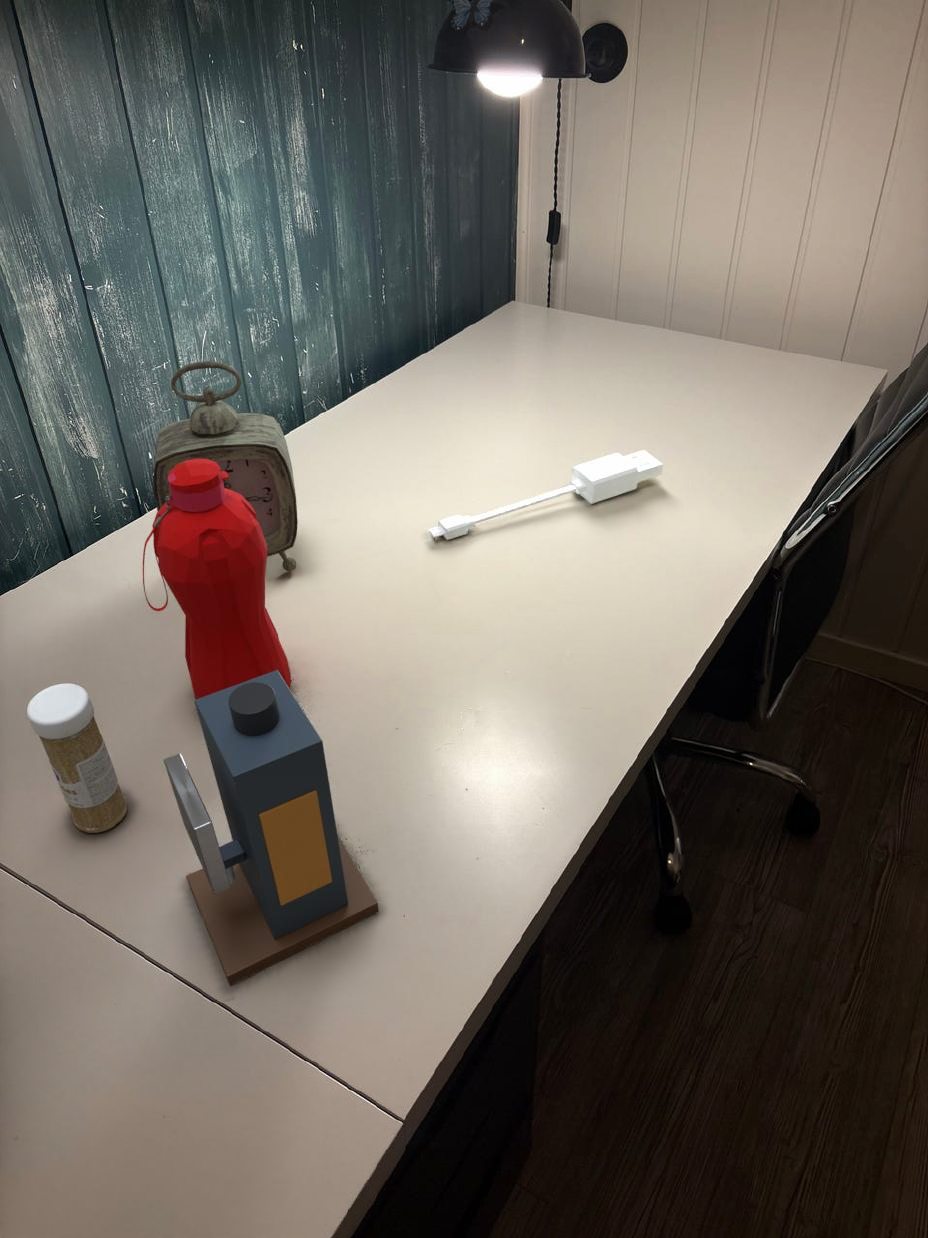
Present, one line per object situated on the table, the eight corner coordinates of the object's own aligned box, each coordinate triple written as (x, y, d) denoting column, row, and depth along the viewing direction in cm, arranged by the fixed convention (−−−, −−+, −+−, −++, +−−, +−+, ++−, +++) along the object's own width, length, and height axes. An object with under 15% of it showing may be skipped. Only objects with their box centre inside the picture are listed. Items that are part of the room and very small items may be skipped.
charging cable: (423, 535, 114) (421, 512, 111) (640, 465, 124) (642, 442, 122) (441, 555, 110) (439, 532, 108) (663, 481, 120) (665, 459, 118)
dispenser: (230, 985, 66) (166, 792, 53) (188, 884, 73) (123, 690, 60) (379, 911, 71) (354, 716, 58) (327, 823, 78) (295, 630, 64)
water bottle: (171, 679, 92) (107, 458, 77) (279, 651, 95) (238, 433, 80) (185, 741, 86) (118, 512, 70) (300, 709, 89) (260, 483, 73)
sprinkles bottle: (63, 817, 79) (13, 704, 70) (109, 785, 81) (66, 673, 73) (94, 844, 76) (46, 731, 68) (140, 810, 79) (99, 697, 71)
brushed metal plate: (214, 895, 62) (193, 830, 58) (184, 824, 67) (162, 759, 63) (231, 887, 63) (212, 822, 58) (199, 818, 68) (180, 752, 63)
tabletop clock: (179, 595, 103) (124, 386, 88) (181, 550, 110) (131, 350, 95) (308, 577, 105) (277, 371, 90) (302, 535, 112) (272, 337, 97)
